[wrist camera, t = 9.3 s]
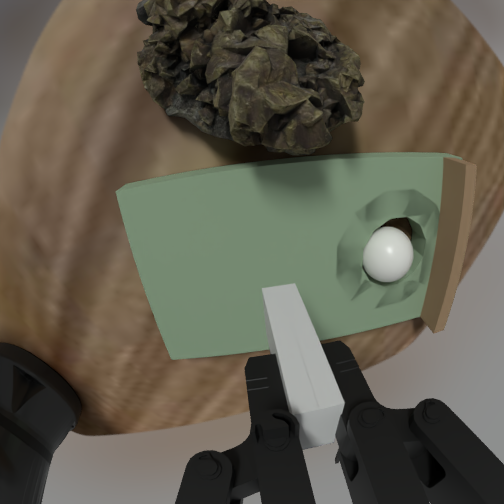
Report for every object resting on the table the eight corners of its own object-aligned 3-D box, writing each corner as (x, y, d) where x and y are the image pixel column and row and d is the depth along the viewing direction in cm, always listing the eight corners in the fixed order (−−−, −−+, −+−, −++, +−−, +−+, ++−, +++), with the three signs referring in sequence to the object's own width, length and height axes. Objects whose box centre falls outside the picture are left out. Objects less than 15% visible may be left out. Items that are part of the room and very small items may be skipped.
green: (174, 343, 24) (167, 382, 20) (126, 184, 18) (99, 203, 14) (426, 299, 24) (450, 327, 20) (446, 153, 18) (484, 165, 14)
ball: (348, 273, 21) (381, 299, 18) (350, 224, 20) (388, 246, 16) (386, 260, 22) (419, 282, 19) (390, 214, 21) (427, 233, 17)
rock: (312, 190, 19) (418, 92, 13) (199, 227, 12) (371, 26, 5) (214, 76, 21) (281, -14, 14) (103, 70, 14) (172, -64, 7)
